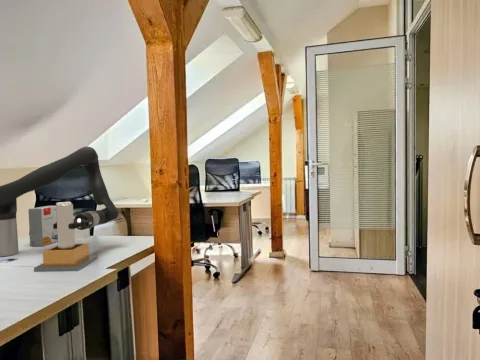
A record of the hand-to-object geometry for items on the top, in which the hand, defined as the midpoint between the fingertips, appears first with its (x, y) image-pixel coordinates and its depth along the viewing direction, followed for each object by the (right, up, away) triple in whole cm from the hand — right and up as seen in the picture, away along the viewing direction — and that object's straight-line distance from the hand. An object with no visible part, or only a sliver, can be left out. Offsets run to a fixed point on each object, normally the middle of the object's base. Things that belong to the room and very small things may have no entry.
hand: (62, 226), depth 153 cm
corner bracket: (-20, -14, +60) cm, 65 cm away
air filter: (+1, -15, +3) cm, 15 cm away
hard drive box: (-32, -15, +47) cm, 59 cm away
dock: (+1, -16, +2) cm, 17 cm away
